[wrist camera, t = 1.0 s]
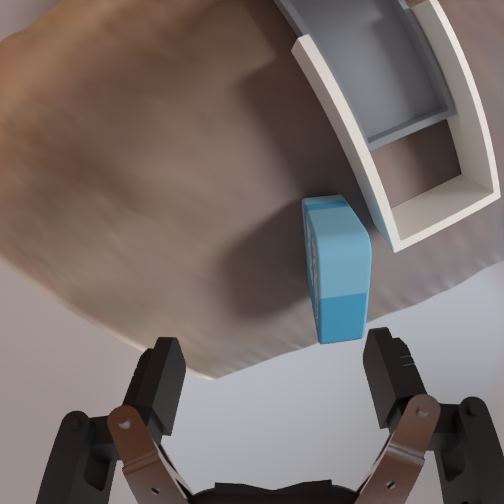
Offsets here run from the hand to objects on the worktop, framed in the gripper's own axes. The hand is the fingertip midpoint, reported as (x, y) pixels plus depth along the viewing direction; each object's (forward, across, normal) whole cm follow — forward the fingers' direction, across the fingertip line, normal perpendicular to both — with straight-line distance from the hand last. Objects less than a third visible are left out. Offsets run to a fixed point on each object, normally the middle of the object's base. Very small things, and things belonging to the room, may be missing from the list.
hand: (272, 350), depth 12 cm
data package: (+24, -6, +7) cm, 26 cm away
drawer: (+23, -11, -17) cm, 31 cm away
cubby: (+23, -15, -8) cm, 29 cm away
